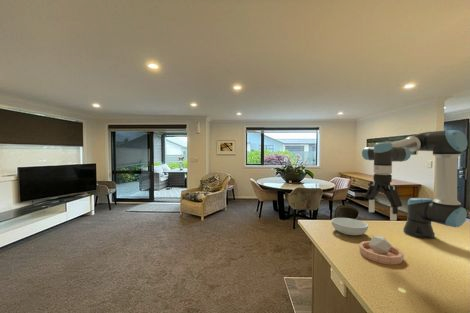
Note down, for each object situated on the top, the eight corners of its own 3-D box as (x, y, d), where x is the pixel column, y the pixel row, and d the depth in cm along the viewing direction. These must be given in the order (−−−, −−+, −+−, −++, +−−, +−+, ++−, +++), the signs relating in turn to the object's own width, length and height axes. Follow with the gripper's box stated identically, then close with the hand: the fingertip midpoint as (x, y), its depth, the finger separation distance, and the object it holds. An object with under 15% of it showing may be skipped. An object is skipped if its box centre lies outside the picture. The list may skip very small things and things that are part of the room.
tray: (381, 246, 119) (382, 240, 119) (412, 263, 101) (412, 256, 101) (351, 248, 117) (351, 241, 117) (377, 265, 99) (377, 258, 99)
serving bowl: (368, 231, 142) (368, 220, 142) (367, 242, 125) (367, 230, 124) (333, 225, 153) (333, 215, 153) (328, 234, 136) (328, 223, 136)
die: (391, 260, 103) (397, 241, 106) (373, 250, 104) (380, 231, 107) (379, 258, 111) (385, 241, 114) (363, 248, 112) (369, 231, 115)
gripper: (358, 171, 120) (357, 209, 120) (397, 177, 95) (396, 224, 96) (370, 171, 121) (370, 208, 121) (412, 176, 96) (411, 224, 96)
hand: (381, 216), depth 108 cm, fingers open, 13 cm apart
